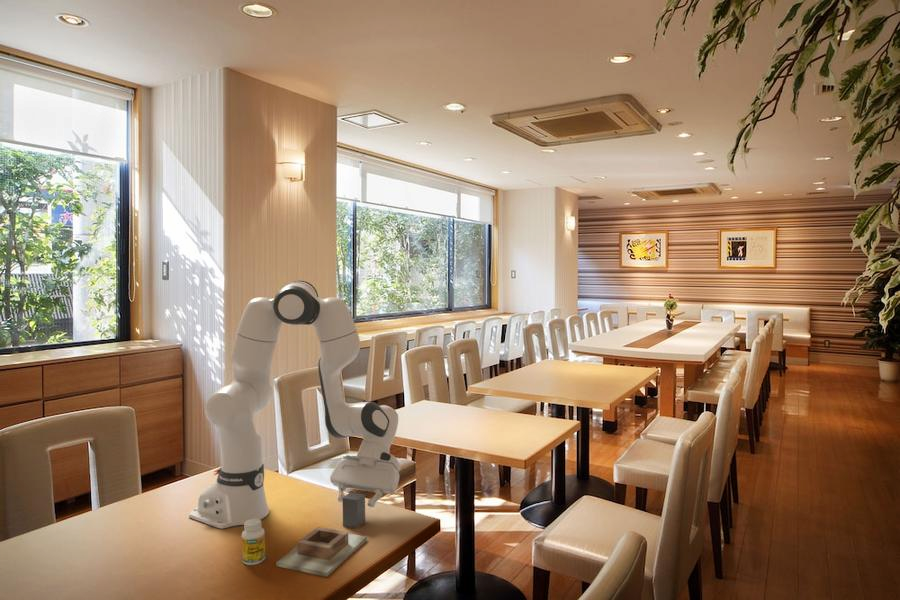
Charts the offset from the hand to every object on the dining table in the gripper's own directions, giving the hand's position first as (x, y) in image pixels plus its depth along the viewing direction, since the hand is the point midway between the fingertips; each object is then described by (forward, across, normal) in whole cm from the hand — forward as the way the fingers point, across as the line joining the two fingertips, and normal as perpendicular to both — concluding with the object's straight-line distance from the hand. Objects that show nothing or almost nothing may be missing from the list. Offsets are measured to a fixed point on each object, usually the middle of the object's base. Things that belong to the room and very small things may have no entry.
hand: (355, 503), depth 162 cm
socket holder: (+16, +1, -9) cm, 19 cm away
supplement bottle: (+23, -13, -15) cm, 30 cm away
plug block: (+4, 0, +3) cm, 6 cm away
